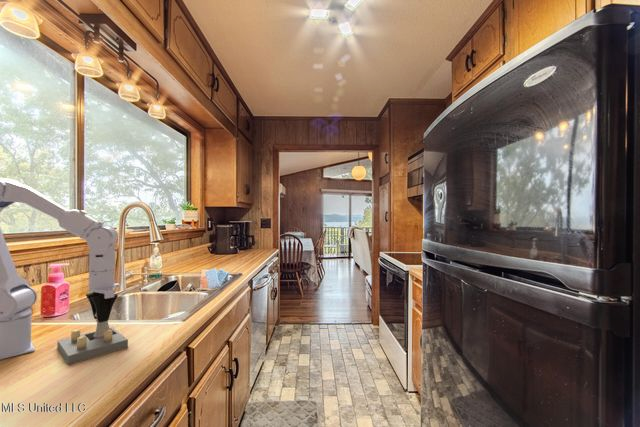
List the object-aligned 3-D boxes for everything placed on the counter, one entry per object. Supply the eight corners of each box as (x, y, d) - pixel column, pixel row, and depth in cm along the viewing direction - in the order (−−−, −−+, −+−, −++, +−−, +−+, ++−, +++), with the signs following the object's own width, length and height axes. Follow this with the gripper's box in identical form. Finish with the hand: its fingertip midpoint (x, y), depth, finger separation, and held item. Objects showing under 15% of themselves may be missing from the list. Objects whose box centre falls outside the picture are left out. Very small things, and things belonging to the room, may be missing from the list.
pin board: (57, 348, 75) (57, 330, 75) (112, 334, 84) (112, 318, 84) (68, 364, 67) (68, 345, 67) (127, 347, 76) (128, 329, 76)
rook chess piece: (110, 334, 83) (108, 306, 83) (115, 337, 80) (114, 309, 80) (90, 340, 79) (89, 311, 79) (96, 344, 77) (94, 314, 76)
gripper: (128, 271, 78) (127, 322, 78) (111, 265, 87) (110, 310, 87) (95, 275, 73) (94, 329, 72) (81, 268, 82) (80, 316, 82)
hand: (101, 319), depth 79 cm, fingers closed on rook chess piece, 3 cm apart
